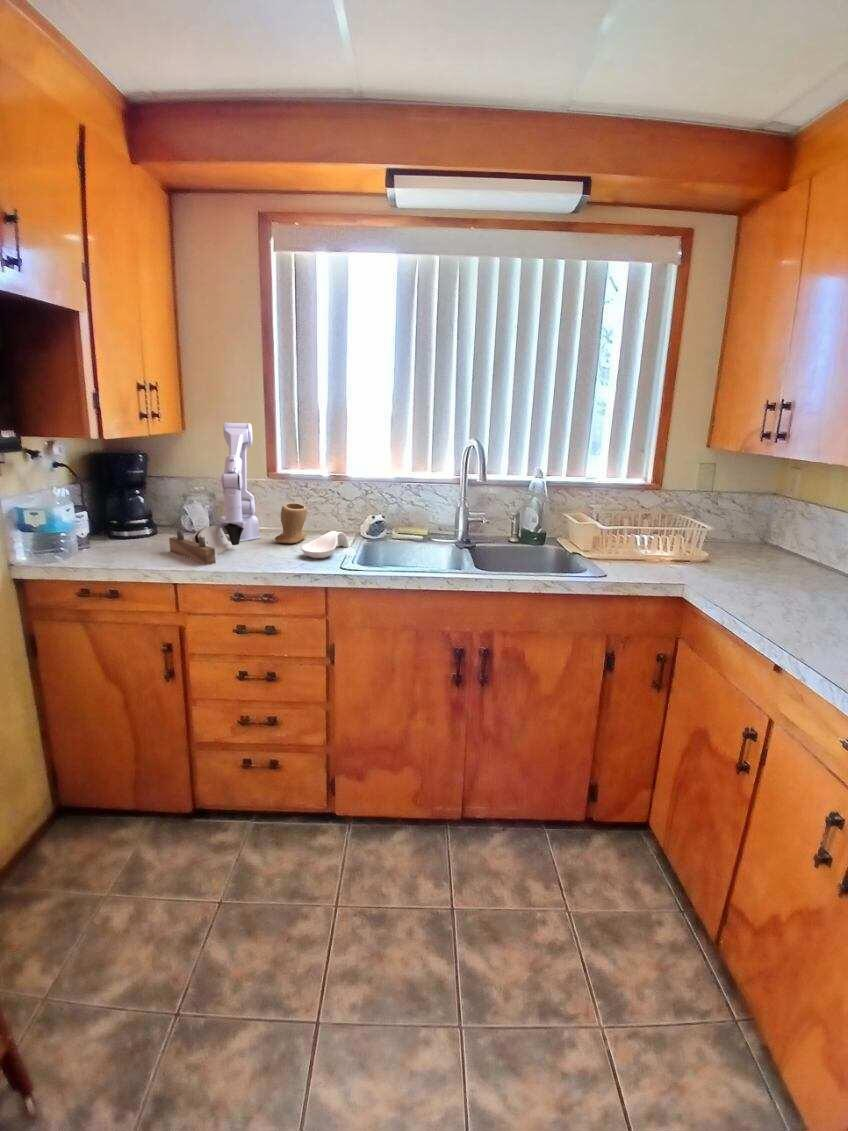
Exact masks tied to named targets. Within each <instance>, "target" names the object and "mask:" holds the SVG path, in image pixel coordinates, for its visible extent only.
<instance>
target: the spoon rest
mask: <svg viewBox="0 0 848 1131" xmlns="http://www.w3.org/2000/svg"><path fill="white" fill-rule="evenodd" d="M340 546H343V547H342V548H349V547H350V542H349V540H348V537H347V536H346V534H345V533H344V532H342V531H337V530H331V531H329V532H327V533H325V534H323V535H321V536H320V537H317V538H316V539H314V540H311V541H309V542H307V543H305V544H303V545H302V546H301V549H300V550H301V552H303V554H305V555H306V556H307V557H309V558H313V559H317V558H321V559H326V557H327V558H329V556H331V555H332V554H333V553H334V552H335V550H336V547H340Z"/></svg>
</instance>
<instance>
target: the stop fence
mask: <svg viewBox="0 0 848 1131" xmlns="http://www.w3.org/2000/svg"><path fill="white" fill-rule="evenodd" d="M168 539H169V540H168V542H169V551H170V553H172V552H173V554H175V553H176V555H178V554H179V555H178V556H181V555H182V556H181V557H183V556H185V558H186V557H188V558H187V559H189V558H191V559H190V560H192V559H194V560H193V561H195V560H196V561H195V562H198V561H199V562H198V563H200V562H202V563H201V564H203V563H204V565H206V564H209V565H214V564H217V562H216V555H215V548H212V547H209V546H205V537H199V538H198V539H199V543H196V542H193V541H192V540H190V539H186V538H184V531H183V530H176V536H173V537H169V538H168ZM213 563H214V564H213Z"/></svg>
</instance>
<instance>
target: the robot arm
mask: <svg viewBox="0 0 848 1131" xmlns="http://www.w3.org/2000/svg"><path fill="white" fill-rule="evenodd" d="M222 426H223V427H222V428H223V431H222V432H223V437H224V440H225V442H226V444H227V446H229V447H228V454H229V455H228V456H226V457H225V461H224V470H223V471H224V472H223V474H221V478H220V479H221V480H220V484H221V488H222V495H223V498H224V500H223V501H224V516H220V523H224V524H226V525H224V526H223V527H224V529H225V531H226V533H227V534H228V539H229V542H231V544H232V545H233V546H237V545H239V544H240V542H244V541H251V540H252V541H253V540H256V539H261V536H260V524H259V519H258V517H257V516H256V515H255V513H256V501H255V496H254V495H253V494H252V493H251V492H250V491H248V476H247V475H248V472H247V469H248V468H247V467H248V466H247V465H248V464H247V460H248V459H247V453H248V449H249V448H250V447H252V446H253V425H252V424H251V423H250V422H248V423H246V422H245V423H243V422H224V423H223V425H222Z"/></svg>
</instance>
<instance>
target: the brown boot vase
mask: <svg viewBox="0 0 848 1131" xmlns="http://www.w3.org/2000/svg"><path fill="white" fill-rule="evenodd" d="M307 511H308V508H307V507H306V505H304V504H302V503H298V502H286V503H284V504H283V505H282V507H281V510H280V522H281V527H282V532H281V533H280V534H278V535H277V536H276V537H274V541H275V542H277V543H281V544H282V543H283V544H295V543H298V542H301V541H302V540H304V538H306V537H307V536H308V534H307V532H304V531H303V527H304V525H305V522H306V519H307V515H308V514H307V513H308V512H307Z"/></svg>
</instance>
